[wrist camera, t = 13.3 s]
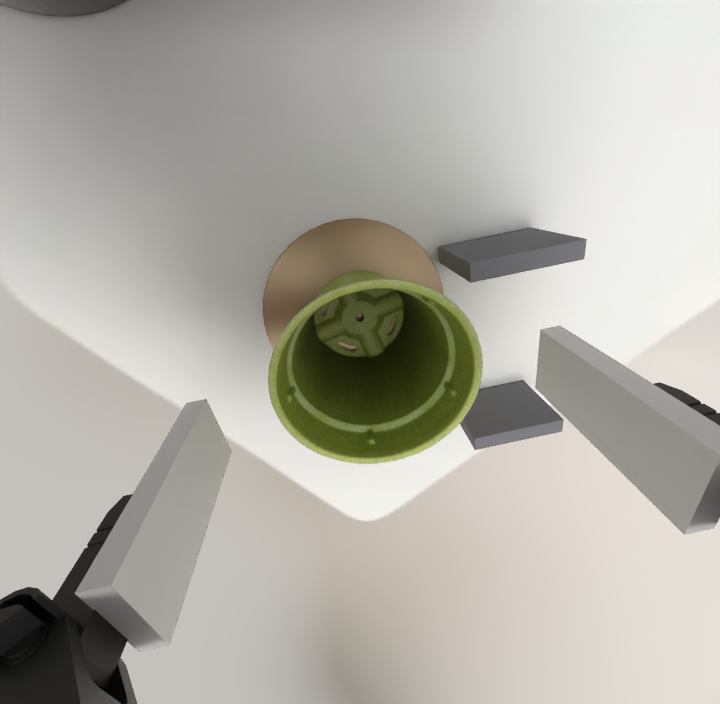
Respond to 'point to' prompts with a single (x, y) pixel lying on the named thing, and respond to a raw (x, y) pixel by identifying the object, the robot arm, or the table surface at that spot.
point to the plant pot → (375, 369)
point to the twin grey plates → (517, 400)
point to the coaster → (340, 267)
